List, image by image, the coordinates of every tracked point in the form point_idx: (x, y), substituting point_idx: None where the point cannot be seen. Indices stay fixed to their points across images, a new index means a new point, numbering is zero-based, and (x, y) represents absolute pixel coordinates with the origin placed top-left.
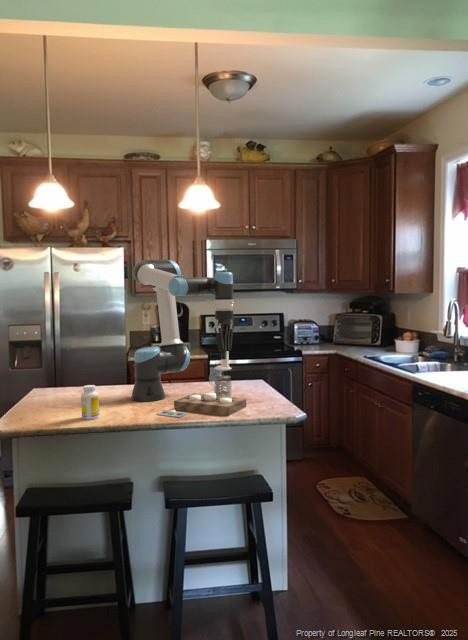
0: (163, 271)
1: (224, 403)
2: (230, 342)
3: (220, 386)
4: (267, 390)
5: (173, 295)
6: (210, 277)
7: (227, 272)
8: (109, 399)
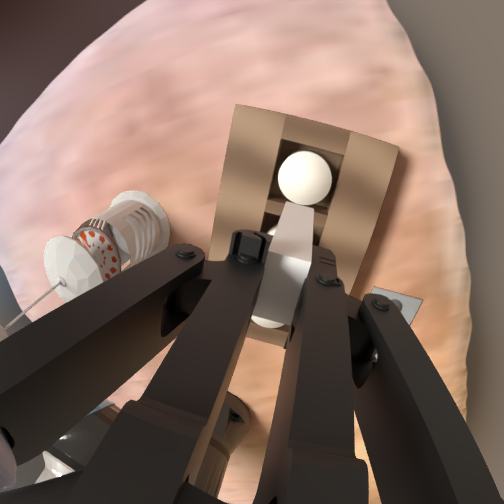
0: None
1: (346, 174)
2: (163, 288)
3: (139, 247)
4: (27, 121)
5: None
6: None
7: None
8: (244, 458)
